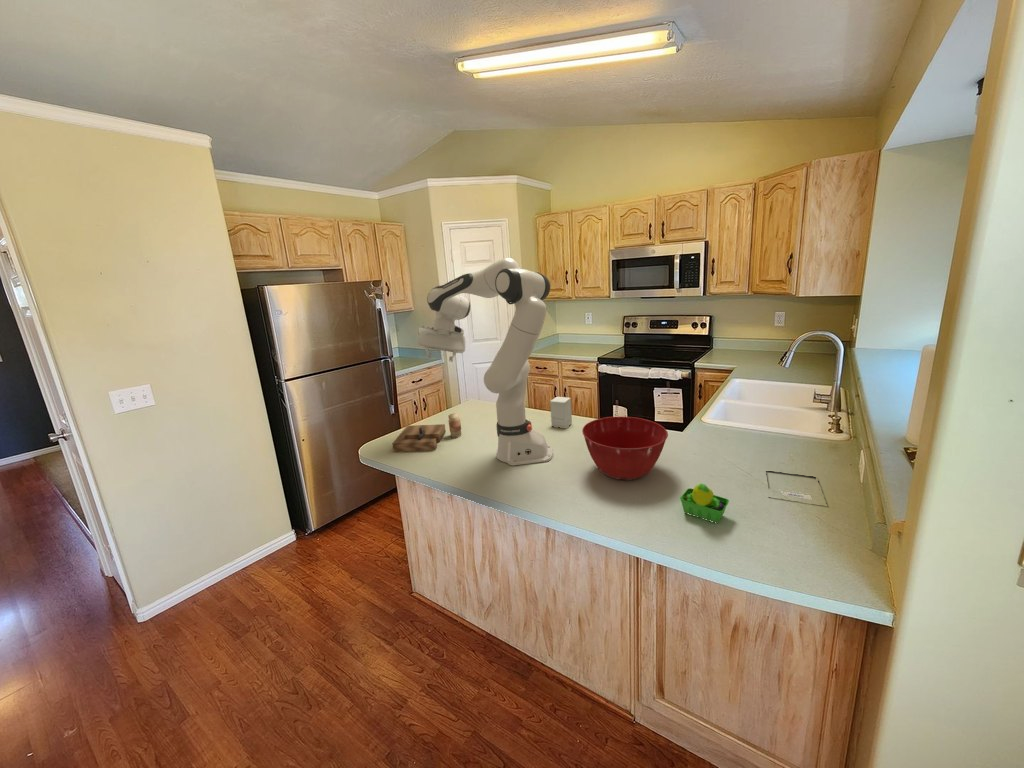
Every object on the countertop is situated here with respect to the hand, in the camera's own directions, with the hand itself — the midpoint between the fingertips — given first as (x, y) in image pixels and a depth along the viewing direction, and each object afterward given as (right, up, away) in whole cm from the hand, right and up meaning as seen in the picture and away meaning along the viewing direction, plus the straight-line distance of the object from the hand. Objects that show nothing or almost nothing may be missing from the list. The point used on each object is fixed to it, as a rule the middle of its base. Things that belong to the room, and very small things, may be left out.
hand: (439, 359), depth 179 cm
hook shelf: (-10, -36, +9) cm, 38 cm away
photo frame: (+118, -43, -48) cm, 134 cm away
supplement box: (+54, -30, +16) cm, 63 cm away
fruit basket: (+85, -48, -58) cm, 114 cm away
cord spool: (+5, -34, +12) cm, 37 cm away
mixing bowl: (+70, -41, -30) cm, 87 cm away
